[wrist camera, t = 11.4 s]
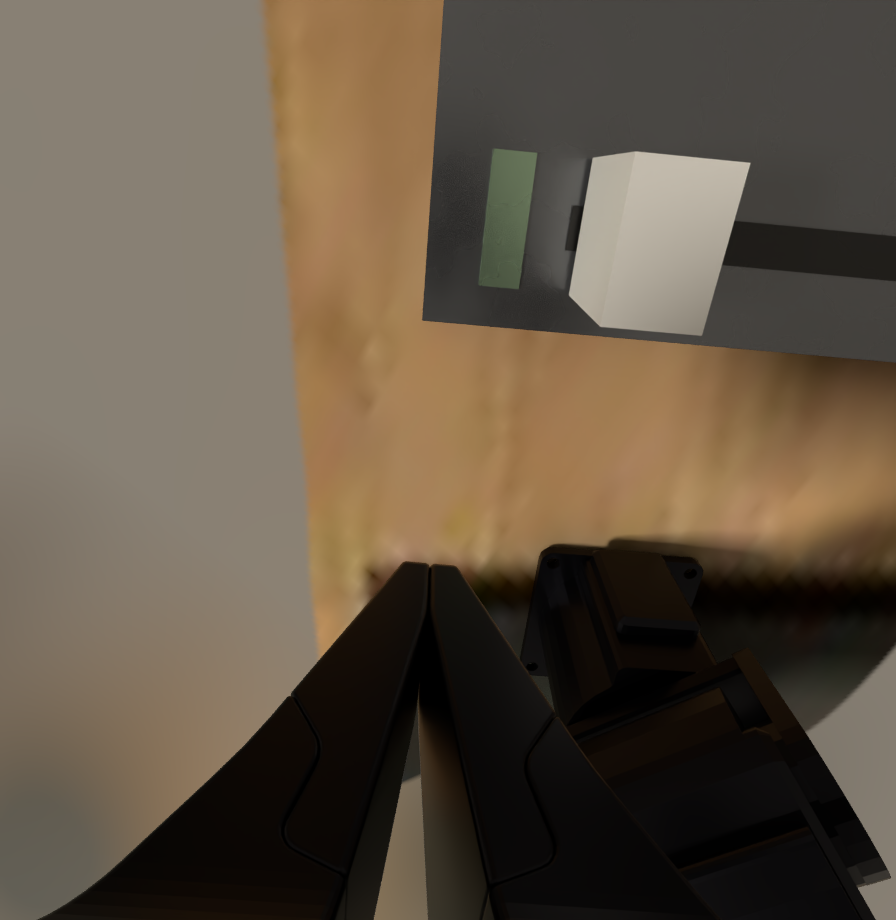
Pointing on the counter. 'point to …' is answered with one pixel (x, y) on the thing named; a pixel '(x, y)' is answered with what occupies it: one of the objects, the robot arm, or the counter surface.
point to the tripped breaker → (654, 239)
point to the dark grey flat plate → (673, 133)
